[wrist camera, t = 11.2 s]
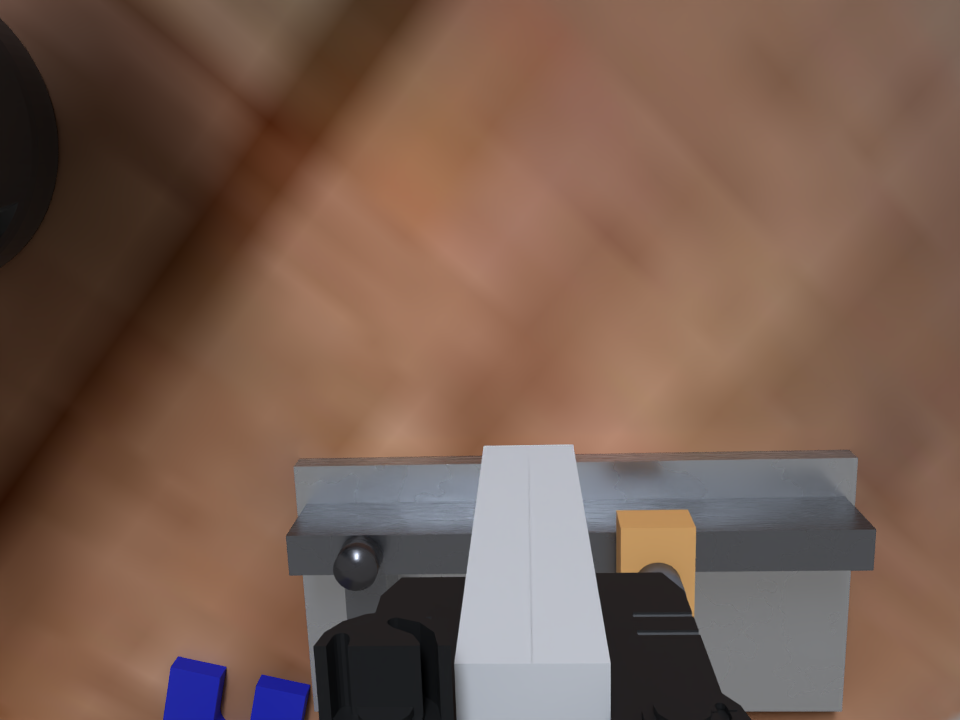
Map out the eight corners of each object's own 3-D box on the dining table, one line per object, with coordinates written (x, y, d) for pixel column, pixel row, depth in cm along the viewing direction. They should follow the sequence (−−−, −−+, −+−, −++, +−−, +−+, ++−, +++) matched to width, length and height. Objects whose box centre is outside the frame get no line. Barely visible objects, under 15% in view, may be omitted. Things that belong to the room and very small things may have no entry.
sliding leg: (608, 673, 46) (624, 767, 39) (608, 479, 44) (624, 542, 37) (670, 673, 46) (697, 767, 39) (673, 478, 44) (702, 541, 37)
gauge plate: (319, 698, 49) (287, 782, 43) (299, 458, 46) (261, 509, 40) (834, 698, 48) (883, 785, 41) (849, 449, 45) (905, 501, 38)
